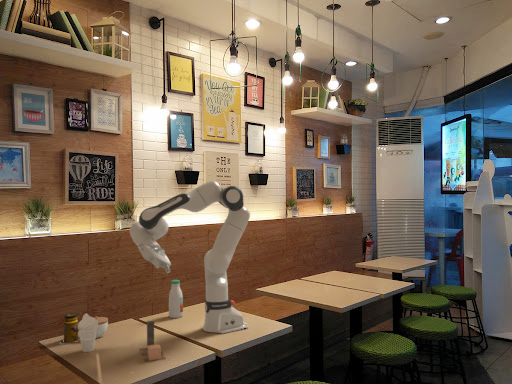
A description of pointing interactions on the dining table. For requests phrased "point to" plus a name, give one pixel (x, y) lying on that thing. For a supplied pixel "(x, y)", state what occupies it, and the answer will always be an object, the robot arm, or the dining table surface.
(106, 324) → the lidded jar
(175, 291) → the milk bottle
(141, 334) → the dining table surface
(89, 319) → the soft serve ice cream cone
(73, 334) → the condiment
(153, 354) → the terracotta block
